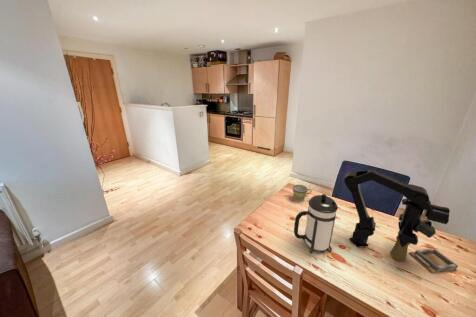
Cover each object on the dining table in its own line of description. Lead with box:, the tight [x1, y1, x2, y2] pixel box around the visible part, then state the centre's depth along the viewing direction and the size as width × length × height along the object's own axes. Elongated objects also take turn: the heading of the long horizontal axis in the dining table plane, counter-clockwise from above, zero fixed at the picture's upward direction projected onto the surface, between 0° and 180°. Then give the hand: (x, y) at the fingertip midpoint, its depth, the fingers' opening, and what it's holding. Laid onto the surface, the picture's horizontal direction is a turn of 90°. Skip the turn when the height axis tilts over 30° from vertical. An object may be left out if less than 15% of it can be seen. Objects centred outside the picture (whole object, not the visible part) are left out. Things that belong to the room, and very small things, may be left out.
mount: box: [408, 247, 459, 274], centre depth 92 cm, size 12×11×3 cm
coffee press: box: [293, 193, 339, 254], centre depth 97 cm, size 17×16×30 cm
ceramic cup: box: [292, 184, 312, 203], centre depth 141 cm, size 13×10×10 cm
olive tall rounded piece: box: [389, 235, 411, 262], centre depth 93 cm, size 6×6×11 cm
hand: (402, 242), depth 92 cm, fingers closed on olive tall rounded piece, 5 cm apart
